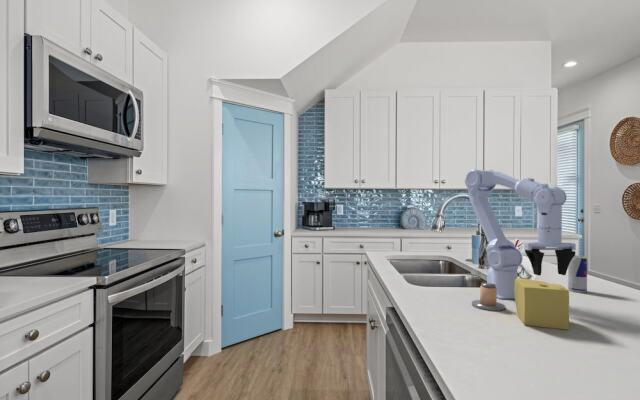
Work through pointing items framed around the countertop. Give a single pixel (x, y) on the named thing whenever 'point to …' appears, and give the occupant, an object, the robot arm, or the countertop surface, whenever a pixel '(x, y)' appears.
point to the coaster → (495, 308)
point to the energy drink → (577, 274)
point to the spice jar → (488, 294)
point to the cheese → (542, 304)
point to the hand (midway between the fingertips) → (549, 274)
